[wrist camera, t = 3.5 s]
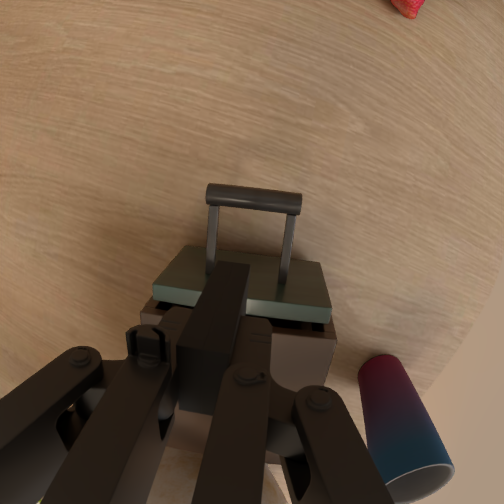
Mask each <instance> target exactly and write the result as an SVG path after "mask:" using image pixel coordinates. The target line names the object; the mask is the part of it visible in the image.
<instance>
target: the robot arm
mask: <svg viewBox="0 0 504 504" xmlns="http://www.w3.org/2000/svg"><path fill="white" fill-rule="evenodd" d="M250 268H251V264H244V263H236V262H228V261H220V260H218V261H217V263H216V265H215V267H214V269H213V271H212V273H211V275H210V277H209V279H208V281H207V283H206V285H205V287H204V289H203V291H202V293H201V295H200V297H199V299H198V301H197V303H196V305H195V307H194V309H189V308H182V307H176V306H175V307H173V308H171V309H170V310H168V311H167V312H165V314H164V316H163V317H162V319H161V321H160V322H159V324H158V325H152V324H143V325H137V326H134V327H132V328H130V329H129V330H128V331H127V332H125V333H126V341H127V349H128V356H127V358H126V359H125V360H102V358H101V355H100V353H99V352H98V351H97V350H96V349H94V348H92V347H88V346H77V347H73V348H71V349H69V350H67V351H65V352H64V353H62V354H61V355H60V356H58V357H57V358H55V359H54V360H53V361H51V362H50V363H49V364H47V365H46V366H45V367H43V368H42V369H40V370H39V371H38V372H36V373H35V374H34V375H32V376H31V377H30V378H28V379H27V380H26V381H24V382H23V383H22V384H20V385H19V386H18V387H16V388H15V389H14V390H12V391H11V392H10V393H8V394H7V395H6V396H4V397H3V398H2V399H0V504H37V503H38V502H39V501H40V500H41V498H42V497H43V496H44V497H43V499H42V501H41V502H40V504H146V502H147V499H148V496H149V493H150V490H151V487H152V485H153V482H154V479H155V476H156V473H157V470H158V467H159V464H160V462H161V459H162V456H163V453H164V450H165V447H166V444H167V442H168V439H169V436H170V433H171V430H172V428H173V425H174V422H175V411H174V410H175V407H176V404H177V402H178V405H179V410H183V411H188V412H193V413H199V414H204V415H210V416H213V418H212V422H211V426H210V430H209V434H208V438H207V442H206V446H205V450H204V454H203V458H202V462H201V466H200V470H199V474H198V478H197V482H196V486H195V490H194V494H193V497H192V501H191V504H261V501H262V490H263V479H264V467H265V455H266V450H267V451H269V452H272V453H275V454H278V455H279V458H280V462H281V466H282V469H283V473H284V477H285V480H286V484H287V487H288V491H289V494H290V498H291V501H292V504H395V503H394V501H393V499H392V497H391V495H390V493H389V491H388V489H387V487H386V485H385V483H384V481H383V479H382V477H381V475H380V473H379V471H378V469H377V467H376V465H375V463H374V461H373V459H372V457H371V455H370V453H369V451H368V449H367V447H366V445H365V443H364V441H363V439H362V437H361V435H360V433H359V432H358V430H357V428H356V426H355V424H354V422H353V420H352V418H351V416H350V414H349V412H348V410H347V408H346V406H345V404H344V402H343V400H342V398H341V397H340V396H339V395H338V393H337V392H335V391H334V390H332V389H330V388H328V387H325V386H321V385H310V386H306V387H303V388H302V389H300V390H299V391H298V392H295V391H292V390H289V389H287V388H284V387H282V386H281V385H279V384H278V383H276V382H275V380H274V379H273V378H272V376H271V374H270V361H271V345H272V328H273V327H272V325H271V324H270V322H269V320H268V319H266V318H258V317H250V316H245V314H246V305H247V296H248V286H249V277H250ZM72 404H73V406H72V407H70V406H71V405H72ZM69 407H70V408H69ZM68 408H69V409H68Z"/></svg>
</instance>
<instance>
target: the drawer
mask: <svg viewBox="0 0 504 504" xmlns="http://www.w3.org/2000/svg"><path fill="white" fill-rule="evenodd" d="M206 204H208V205H209V216H208V231H207V248H202V247H194V246H185V247H184V248H183V249H182V250H181V251H180V252H179V253H178V255H177V256H176V257H175V258H174V259H173V260H172V262H171V263H170V264H169V265H168V266H167V267H166V269H165V270H164V271H163V272H162V273H161V274H160V276H159V277H158V278H157V279H156V280H155V281H154V283H153V284H152V286H153V300H157V301H163V302H168V303H173V304H172V306H171V308H173V307H175V306H176V307H182V308H189V309H194V307H195V305H196V303H197V301H198V299H199V297H200V295H201V293H202V291H203V289H204V287H205V285H206V283H207V281H208V279H209V277H210V275H211V273H212V271H213V269H214V267H215V265H216V263H217V261H218V260H220V261H228V262H236V263H244V264H251V268H250V277H249V286H248V296H247V305H246V314H245V316H250V317H258V318H266V319H268V320H269V322H270V324H271V325H272V326H273V327H281V328H289V329H298V330H308V331H312V324H311V322H313V323H323V324H328V323H329V320H330V316H331V312H332V306H331V302H330V298H329V294H328V290H327V287H326V283H325V279H324V276H323V272H322V269H321V265H320V263H319V262H312V261H304V260H296V259H290V256H291V249H292V243H293V236H294V229H295V222H296V215H300V212H301V206H302V194H301V193H294V192H286V191H278V190H270V189H262V188H253V187H244V186H235V185H225V184H215V183H209V184H208V186H207V189H206ZM220 206H227V207H236V208H244V209H253V210H261V211H269V212H277V213H285V214H287V216H286V223H285V231H284V238H283V245H282V252H281V258H280V257H272V256H264V255H256V254H249V253H241V252H233V251H225V250H217V235H218V222H219V209H220ZM171 308H170V309H171ZM170 309H169V310H170Z"/></svg>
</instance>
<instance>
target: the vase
mask: <svg viewBox="0 0 504 504" xmlns="http://www.w3.org/2000/svg"><path fill="white" fill-rule="evenodd" d="M202 458H203V454H199V453H194V452H189V451H184V450H179V449H175V448H170V447H165V450H164V453H163V456H162V459H161V462H160V464H159V467H158V470H157V473H156V476H155V479H154V482H153V485H152V487H151V490H150V493H149V496H148V499H147V502H146V504H191V501H192V497H193V494H194V490H195V486H196V482H197V478H198V474H199V470H200V466H201V462H202ZM261 504H288V502H287V500H286V498H285V496H284V494H283V492H282V491H281V489H280V487H279V485H278V483H277V481H276V480H275V478H274V476H273V474H272V472H271V470H270V469H269V467H268V464H267V463H265V467H264V479H263V490H262V501H261Z"/></svg>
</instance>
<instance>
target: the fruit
mask: <svg viewBox="0 0 504 504" xmlns="http://www.w3.org/2000/svg"><path fill="white" fill-rule="evenodd" d="M390 1H391V3H392V4H393V5H394V6H395V7H396V8H397V9H399V11H400V12H401V14H402V15H403V16H404V17H406V18H409V19H414V18H415V17H416V15H417V13H418V9H419V8H420V6H421V5H423V3H424V1H425V0H390Z"/></svg>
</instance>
